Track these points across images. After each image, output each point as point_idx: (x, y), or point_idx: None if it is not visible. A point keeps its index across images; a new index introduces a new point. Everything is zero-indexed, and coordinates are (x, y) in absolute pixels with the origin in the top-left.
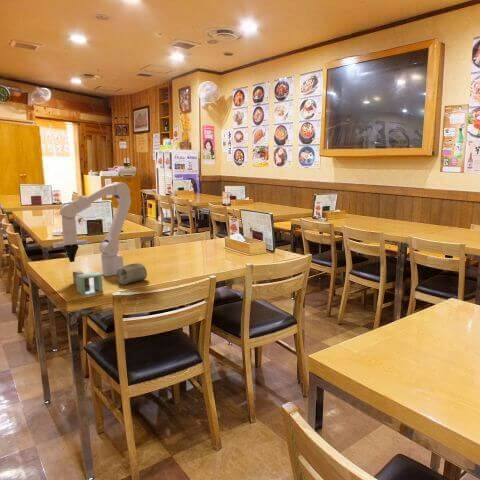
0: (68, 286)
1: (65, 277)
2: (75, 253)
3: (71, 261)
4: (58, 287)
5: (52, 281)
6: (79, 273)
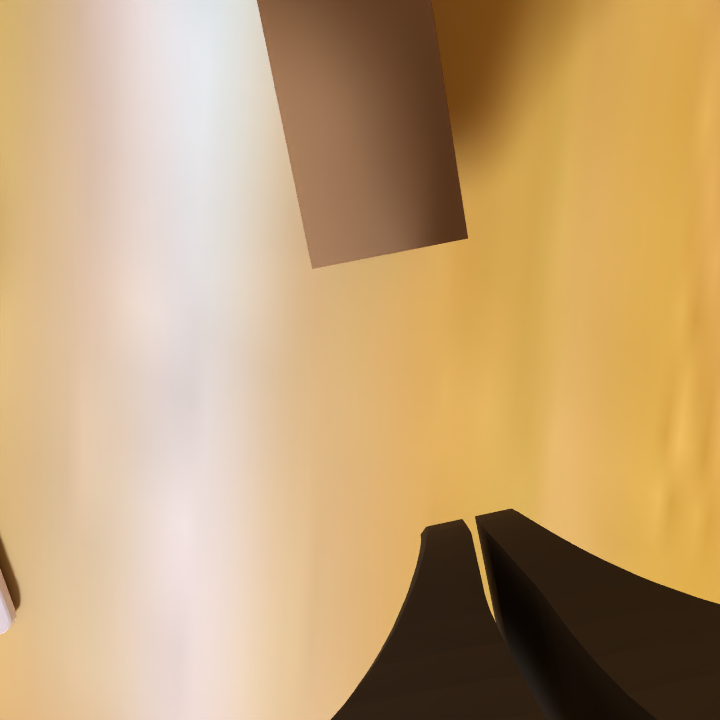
0: (530, 6)
1: None
2: (399, 647)
3: (501, 516)
4: (680, 19)
5: (710, 453)
6: (341, 8)
